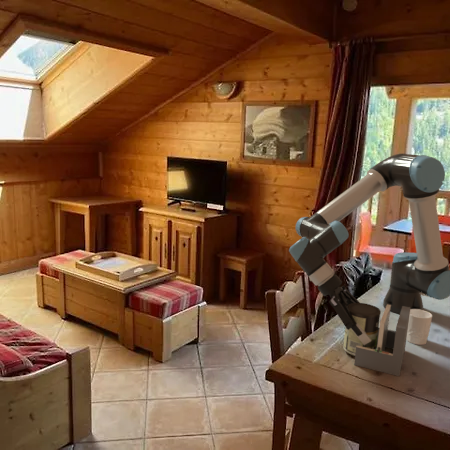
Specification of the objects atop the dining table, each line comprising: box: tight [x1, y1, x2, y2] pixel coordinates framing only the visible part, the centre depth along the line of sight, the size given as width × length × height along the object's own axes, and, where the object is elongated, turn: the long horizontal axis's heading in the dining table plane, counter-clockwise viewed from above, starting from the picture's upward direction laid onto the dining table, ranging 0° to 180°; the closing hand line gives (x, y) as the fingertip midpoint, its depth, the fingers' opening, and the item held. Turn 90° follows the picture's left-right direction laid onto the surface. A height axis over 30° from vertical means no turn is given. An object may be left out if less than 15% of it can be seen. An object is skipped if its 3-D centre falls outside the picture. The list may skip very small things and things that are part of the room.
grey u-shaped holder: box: [354, 306, 410, 377], centre depth 143 cm, size 13×18×15 cm
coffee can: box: [342, 302, 382, 357], centre depth 146 cm, size 10×10×14 cm
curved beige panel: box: [376, 304, 391, 352], centre depth 142 cm, size 1×18×14 cm, turn 154°
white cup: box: [406, 309, 433, 346], centre depth 156 cm, size 8×8×10 cm
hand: (370, 335), depth 145 cm, fingers closed on coffee can, 10 cm apart
